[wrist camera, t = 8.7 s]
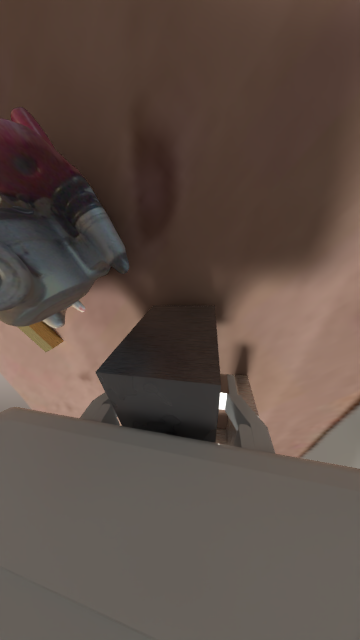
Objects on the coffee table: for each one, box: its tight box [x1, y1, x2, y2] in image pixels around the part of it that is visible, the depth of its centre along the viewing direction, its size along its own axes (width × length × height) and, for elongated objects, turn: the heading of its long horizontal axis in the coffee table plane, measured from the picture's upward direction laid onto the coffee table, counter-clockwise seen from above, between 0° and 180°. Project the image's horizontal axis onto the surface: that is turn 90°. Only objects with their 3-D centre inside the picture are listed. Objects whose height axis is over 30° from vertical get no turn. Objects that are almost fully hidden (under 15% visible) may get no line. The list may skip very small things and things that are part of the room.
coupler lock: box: [96, 306, 221, 443], centre depth 10 cm, size 10×5×8 cm, turn 4°
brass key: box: [17, 321, 63, 352], centre depth 16 cm, size 7×3×2 cm, turn 29°
